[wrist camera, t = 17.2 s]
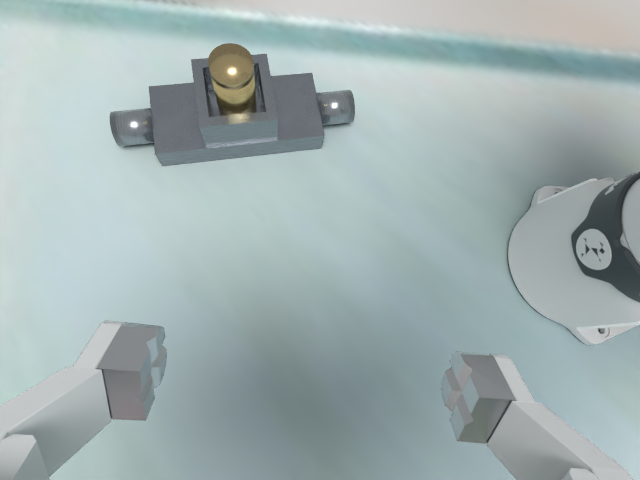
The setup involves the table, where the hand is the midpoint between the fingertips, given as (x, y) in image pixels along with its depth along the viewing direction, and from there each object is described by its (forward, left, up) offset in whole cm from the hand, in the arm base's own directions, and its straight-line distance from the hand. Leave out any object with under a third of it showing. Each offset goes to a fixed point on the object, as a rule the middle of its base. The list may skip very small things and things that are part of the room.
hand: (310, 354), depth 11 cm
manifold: (+1, -25, -31) cm, 40 cm away
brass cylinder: (+1, -25, -28) cm, 38 cm away
